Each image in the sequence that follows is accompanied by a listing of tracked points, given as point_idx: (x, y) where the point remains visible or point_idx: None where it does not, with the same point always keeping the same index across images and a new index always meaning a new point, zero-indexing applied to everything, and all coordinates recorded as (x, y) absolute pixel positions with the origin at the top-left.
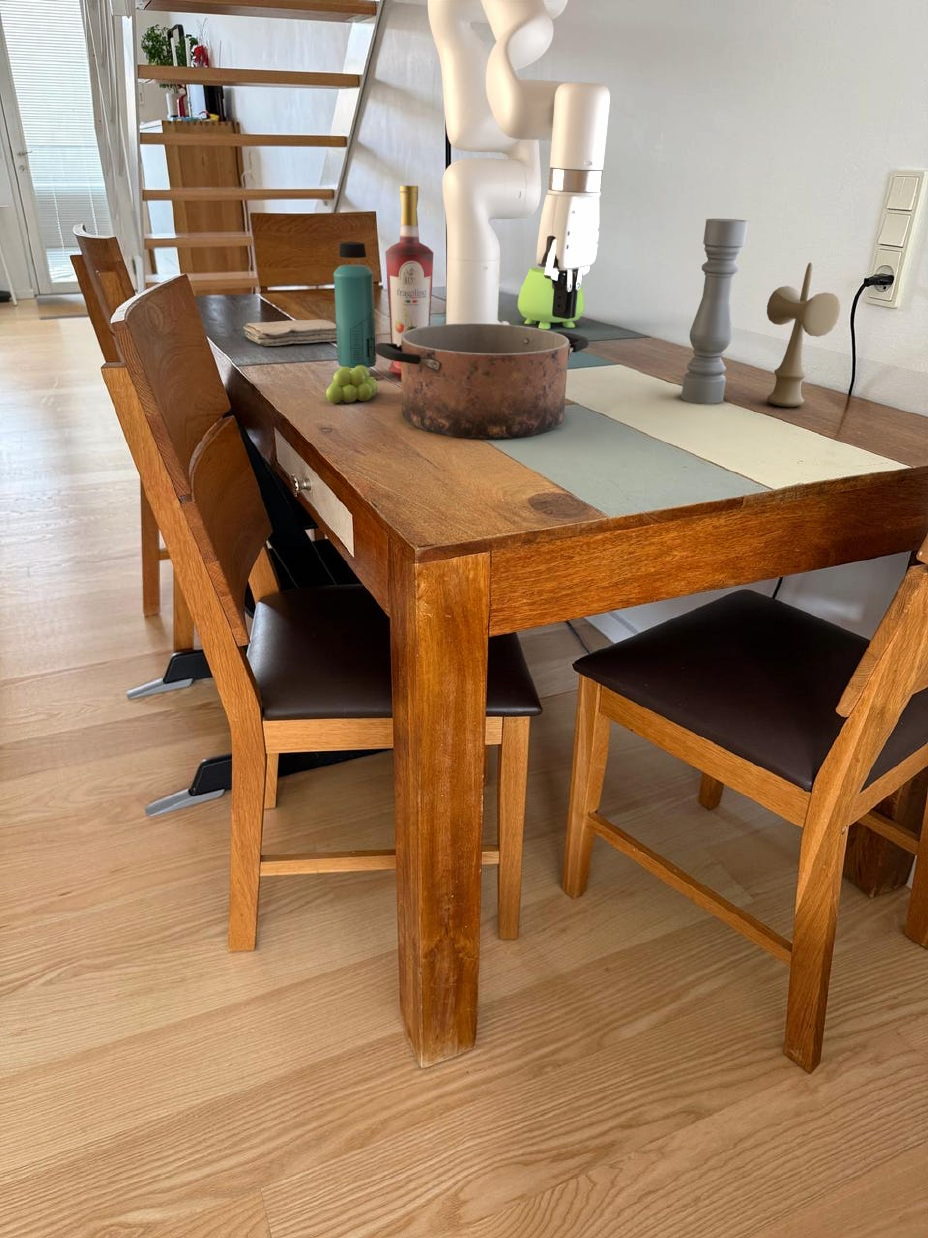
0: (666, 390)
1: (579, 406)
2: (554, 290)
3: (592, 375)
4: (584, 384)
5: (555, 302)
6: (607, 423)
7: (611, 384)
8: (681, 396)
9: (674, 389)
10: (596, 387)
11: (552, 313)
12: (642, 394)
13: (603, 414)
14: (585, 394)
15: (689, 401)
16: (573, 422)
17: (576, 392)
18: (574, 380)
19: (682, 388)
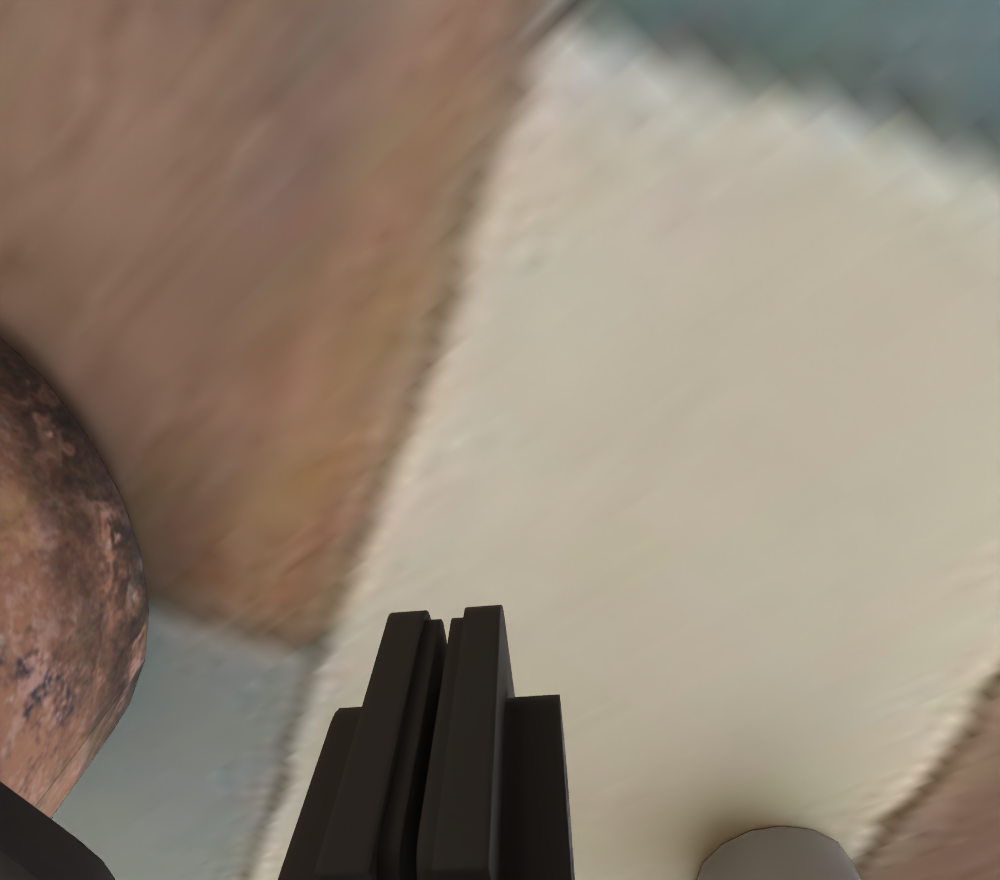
0: (820, 750)
1: (298, 680)
2: (326, 852)
3: (896, 366)
4: (663, 466)
5: (313, 780)
6: (205, 849)
7: (761, 550)
8: (746, 835)
9: (862, 761)
10: (649, 540)
11: (388, 623)
12: (679, 727)
13: (285, 789)
14: (488, 585)
15: (698, 876)
16: (108, 782)
17: (487, 538)
18: (708, 376)
19: (758, 864)
